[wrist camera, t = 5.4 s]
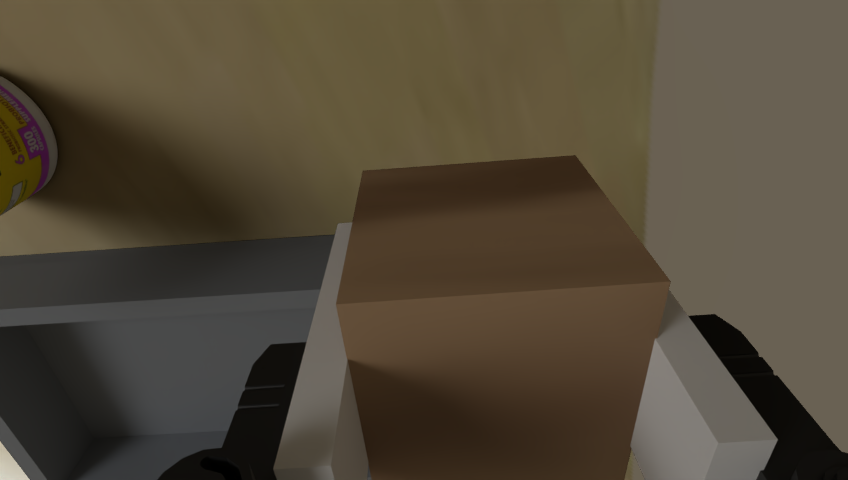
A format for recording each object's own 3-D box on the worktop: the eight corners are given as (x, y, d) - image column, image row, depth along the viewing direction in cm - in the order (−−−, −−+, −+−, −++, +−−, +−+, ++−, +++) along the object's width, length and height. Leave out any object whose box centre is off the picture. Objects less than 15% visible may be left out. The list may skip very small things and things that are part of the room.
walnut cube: (362, 170, 12) (335, 304, 7) (575, 155, 12) (671, 281, 7) (385, 331, 14) (375, 498, 10) (559, 319, 14) (623, 482, 10)
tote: (-17, 257, 28) (-97, 315, 23) (453, 227, 27) (460, 280, 23) (94, 436, 35) (48, 504, 31) (461, 415, 35) (468, 482, 30)
